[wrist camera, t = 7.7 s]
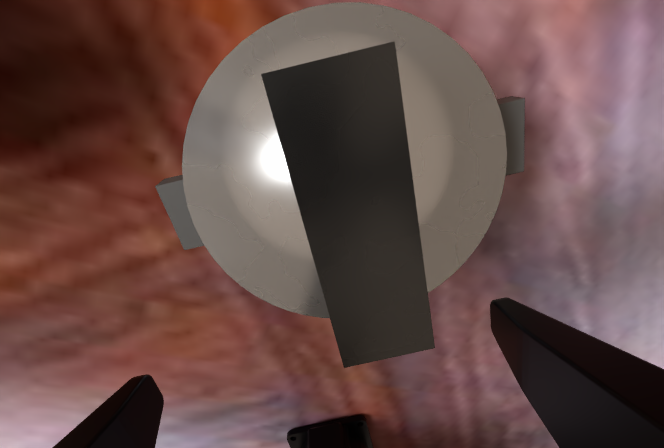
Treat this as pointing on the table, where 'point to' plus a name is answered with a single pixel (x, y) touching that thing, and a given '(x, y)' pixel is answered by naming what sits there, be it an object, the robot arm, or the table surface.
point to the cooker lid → (346, 169)
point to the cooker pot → (189, 237)
